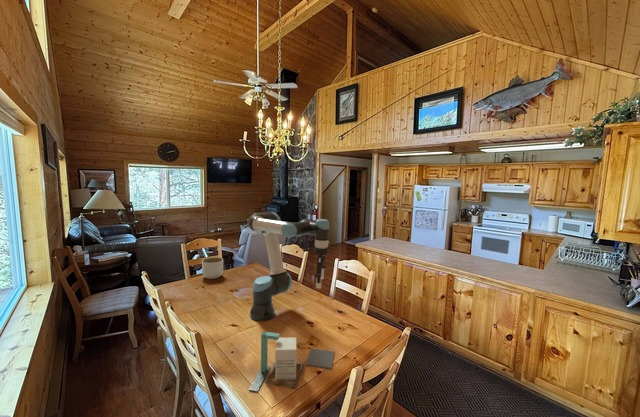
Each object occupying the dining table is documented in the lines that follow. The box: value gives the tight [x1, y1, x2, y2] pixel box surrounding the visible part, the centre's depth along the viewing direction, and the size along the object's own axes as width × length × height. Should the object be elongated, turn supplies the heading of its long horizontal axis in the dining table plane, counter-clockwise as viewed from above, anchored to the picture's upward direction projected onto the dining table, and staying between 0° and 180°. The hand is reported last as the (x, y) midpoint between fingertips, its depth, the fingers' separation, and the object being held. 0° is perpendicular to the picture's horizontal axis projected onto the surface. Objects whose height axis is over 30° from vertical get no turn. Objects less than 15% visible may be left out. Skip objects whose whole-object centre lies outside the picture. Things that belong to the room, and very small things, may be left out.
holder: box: [265, 361, 305, 390], centre depth 116 cm, size 13×13×2 cm
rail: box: [248, 365, 271, 393], centre depth 113 cm, size 4×14×1 cm, turn 170°
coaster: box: [305, 347, 335, 370], centre depth 127 cm, size 12×12×1 cm
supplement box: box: [274, 337, 298, 382], centre depth 115 cm, size 9×9×15 cm
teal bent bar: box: [260, 331, 281, 372], centre depth 116 cm, size 8×2×17 cm, turn 80°
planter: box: [201, 256, 224, 280], centre depth 228 cm, size 17×17×15 cm
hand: (319, 283), depth 151 cm, fingers open, 13 cm apart
